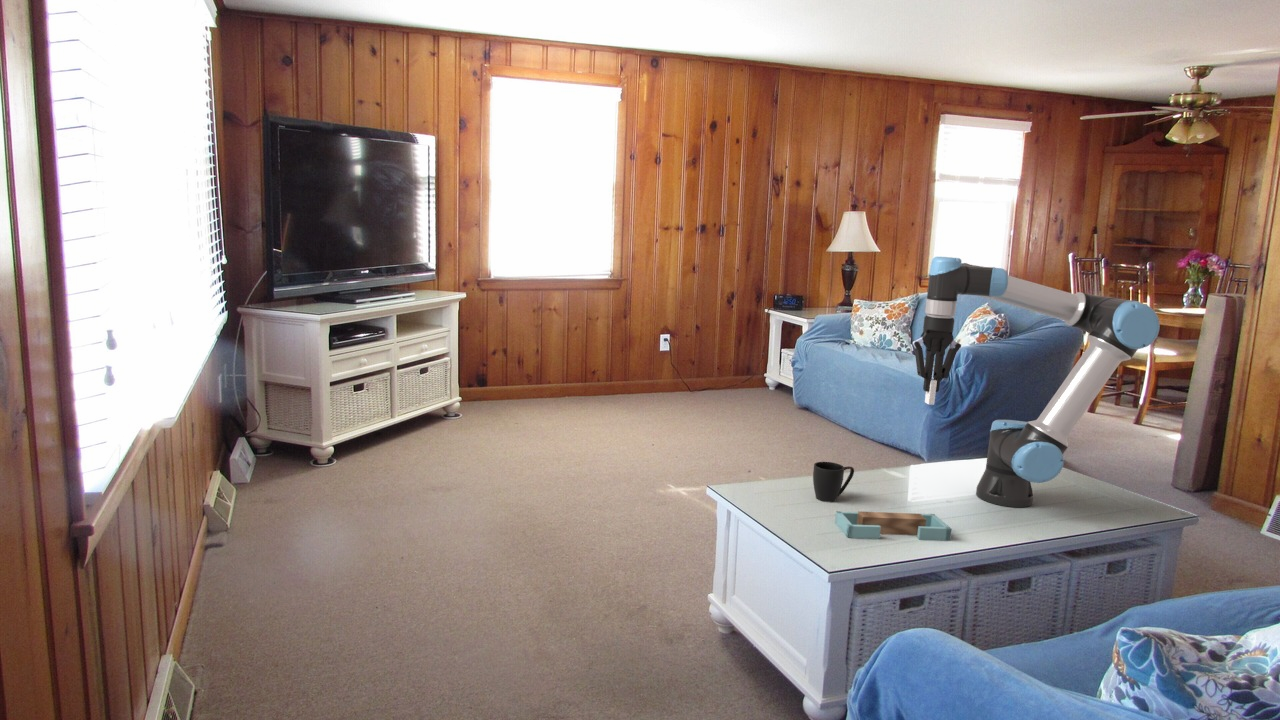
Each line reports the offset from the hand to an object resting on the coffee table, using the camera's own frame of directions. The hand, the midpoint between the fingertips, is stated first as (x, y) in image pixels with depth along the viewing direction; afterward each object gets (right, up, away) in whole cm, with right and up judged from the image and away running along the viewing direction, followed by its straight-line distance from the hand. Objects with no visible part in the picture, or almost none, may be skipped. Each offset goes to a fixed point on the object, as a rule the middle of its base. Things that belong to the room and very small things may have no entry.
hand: (929, 403), depth 230 cm
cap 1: (-23, -31, -15) cm, 41 cm away
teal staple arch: (-5, -32, -13) cm, 35 cm away
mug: (-24, -27, +9) cm, 37 cm away
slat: (-14, -32, -14) cm, 38 cm away
